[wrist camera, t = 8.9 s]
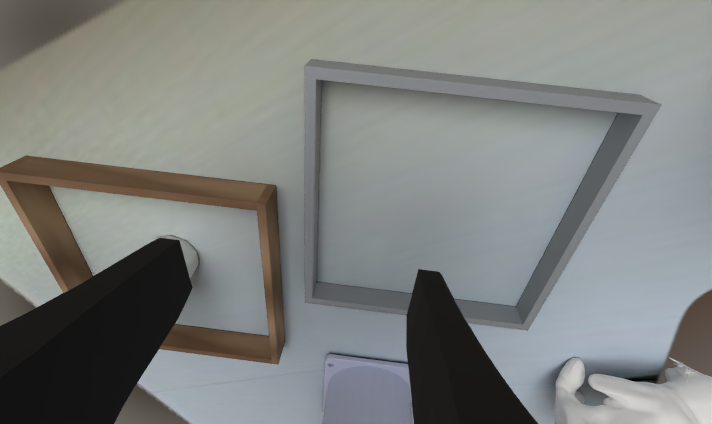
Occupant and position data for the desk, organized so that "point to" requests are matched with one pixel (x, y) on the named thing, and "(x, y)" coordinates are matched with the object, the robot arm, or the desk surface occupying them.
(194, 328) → the brown wooden frame
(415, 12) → the desk surface
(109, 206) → the desk surface
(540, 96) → the grey square frame
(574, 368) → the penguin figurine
